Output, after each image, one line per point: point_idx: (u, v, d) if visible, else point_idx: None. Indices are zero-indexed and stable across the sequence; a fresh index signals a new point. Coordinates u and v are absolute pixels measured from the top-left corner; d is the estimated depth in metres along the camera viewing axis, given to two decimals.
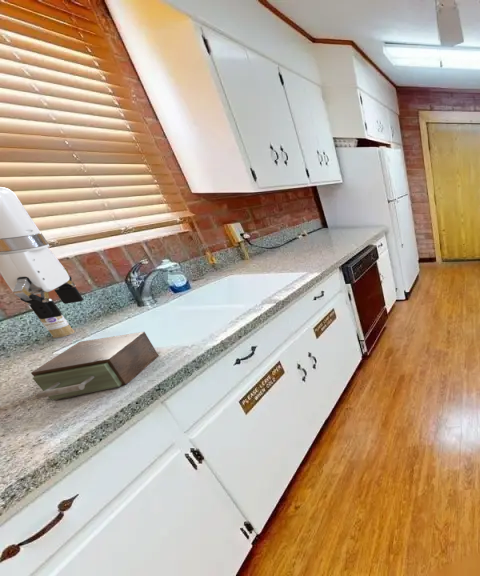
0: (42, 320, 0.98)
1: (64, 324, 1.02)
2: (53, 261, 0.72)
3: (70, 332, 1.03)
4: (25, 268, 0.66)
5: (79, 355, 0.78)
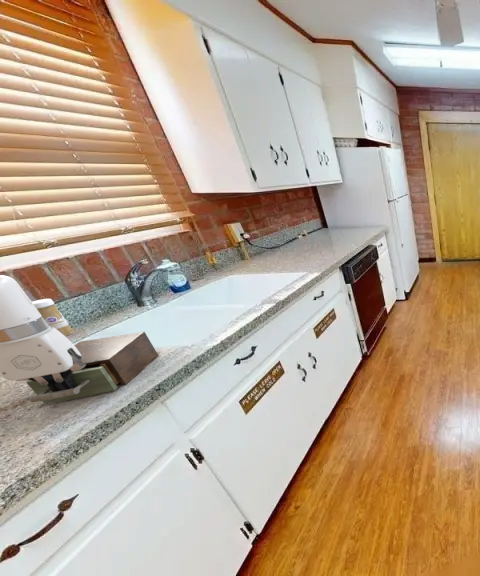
0: None
1: (64, 324, 1.02)
2: None
3: (70, 332, 1.03)
4: (67, 340, 0.70)
5: None
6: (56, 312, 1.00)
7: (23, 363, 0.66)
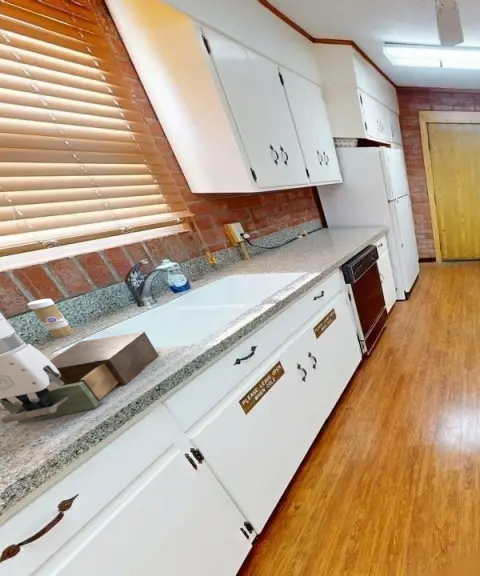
0: (42, 320, 0.98)
1: (64, 324, 1.02)
2: None
3: (70, 332, 1.03)
4: (43, 357, 0.65)
5: (79, 355, 0.78)
6: (56, 312, 1.00)
7: None
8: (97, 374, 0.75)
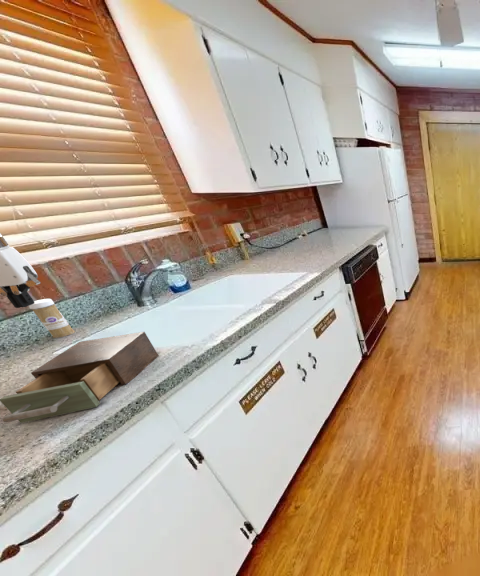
0: (42, 320, 0.98)
1: (64, 324, 1.02)
2: None
3: (70, 332, 1.03)
4: (23, 259, 0.83)
5: (79, 355, 0.78)
6: (56, 312, 1.00)
7: None
8: (98, 373, 0.75)
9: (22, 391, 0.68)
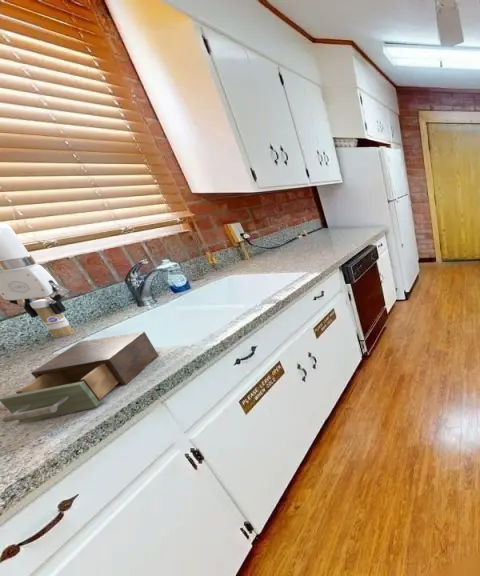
0: (43, 320, 0.99)
1: (65, 324, 1.02)
2: None
3: (70, 332, 1.03)
4: (48, 274, 0.97)
5: (79, 355, 0.78)
6: None
7: (16, 287, 0.93)
8: (98, 373, 0.75)
9: (22, 391, 0.68)
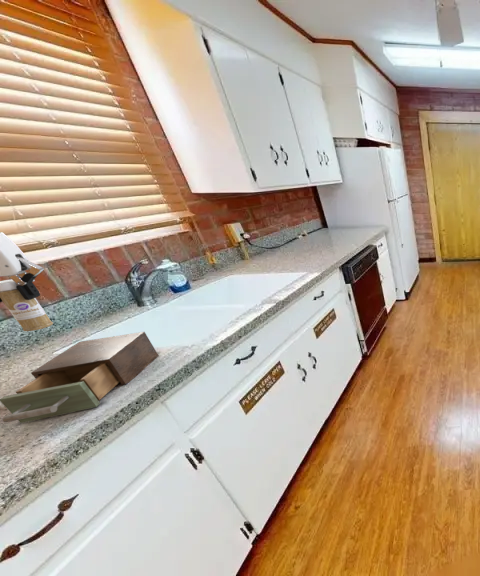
0: (9, 307, 0.74)
1: (39, 313, 0.78)
2: None
3: (47, 324, 0.79)
4: (15, 246, 0.73)
5: (79, 355, 0.78)
6: None
7: None
8: (98, 373, 0.75)
9: (22, 391, 0.68)
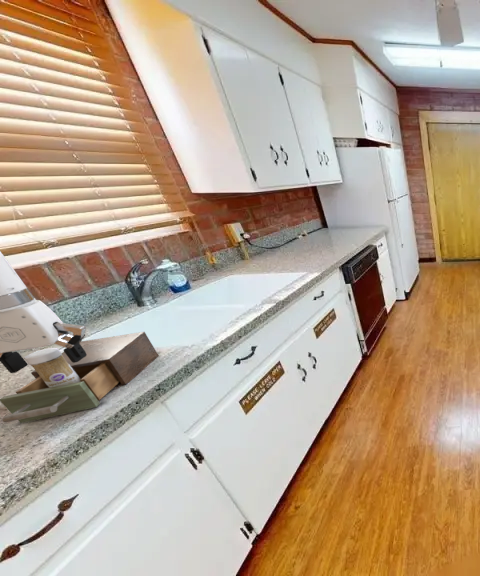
0: (45, 379, 0.70)
1: (75, 382, 0.73)
2: None
3: None
4: (52, 313, 0.68)
5: None
6: (64, 366, 0.72)
7: (6, 335, 0.64)
8: (98, 373, 0.75)
9: (22, 391, 0.68)
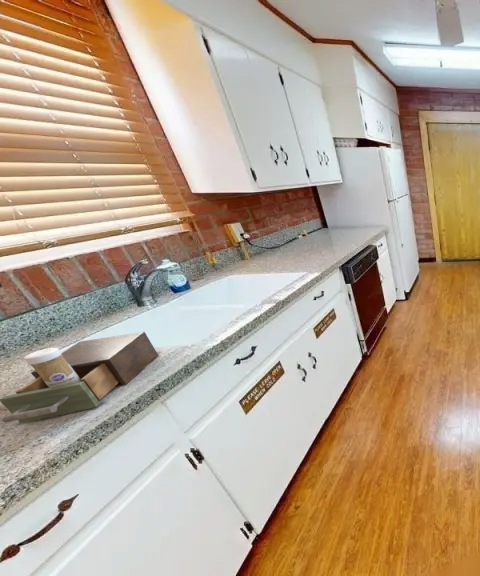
0: (45, 379, 0.70)
1: (75, 382, 0.73)
2: None
3: None
4: None
5: (79, 355, 0.78)
6: (64, 366, 0.72)
7: None
8: (98, 373, 0.75)
9: (22, 391, 0.68)
